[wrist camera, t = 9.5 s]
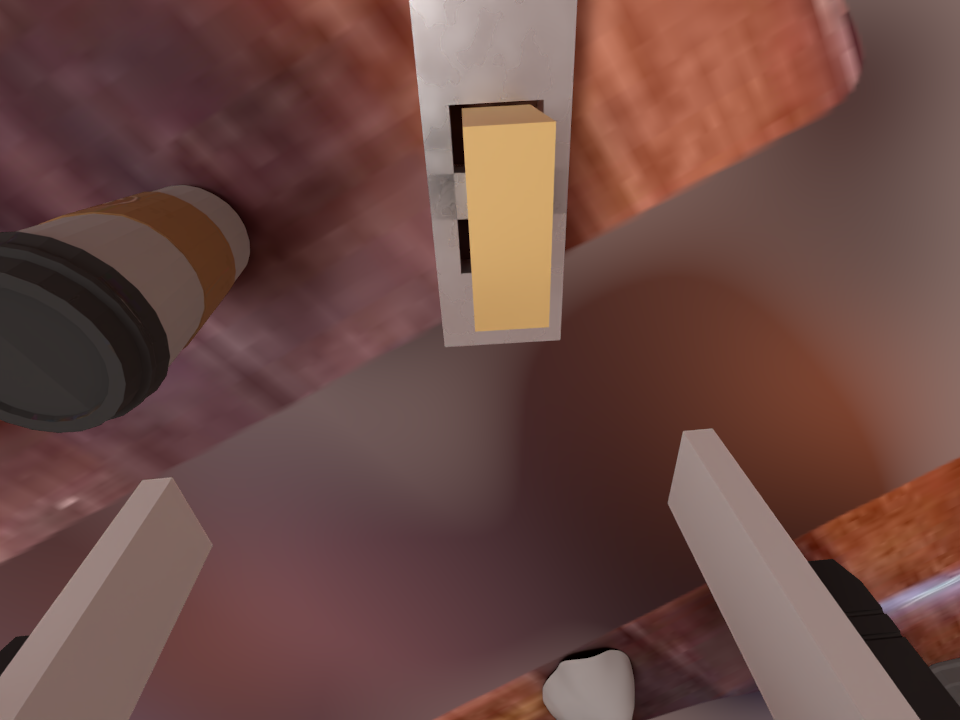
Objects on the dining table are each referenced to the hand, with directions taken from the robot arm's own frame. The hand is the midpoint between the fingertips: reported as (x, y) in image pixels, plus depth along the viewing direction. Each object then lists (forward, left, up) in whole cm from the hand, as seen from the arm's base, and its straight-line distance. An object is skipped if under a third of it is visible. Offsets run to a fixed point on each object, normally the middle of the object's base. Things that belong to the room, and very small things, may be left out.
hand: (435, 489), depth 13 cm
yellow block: (+3, +3, -22) cm, 22 cm away
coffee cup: (-16, +1, -22) cm, 27 cm away
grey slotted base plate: (+3, +3, -22) cm, 22 cm away
